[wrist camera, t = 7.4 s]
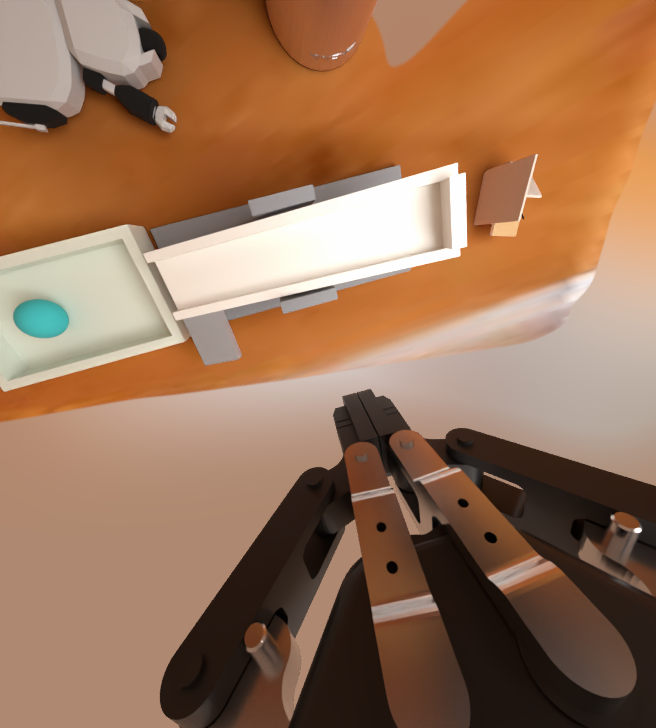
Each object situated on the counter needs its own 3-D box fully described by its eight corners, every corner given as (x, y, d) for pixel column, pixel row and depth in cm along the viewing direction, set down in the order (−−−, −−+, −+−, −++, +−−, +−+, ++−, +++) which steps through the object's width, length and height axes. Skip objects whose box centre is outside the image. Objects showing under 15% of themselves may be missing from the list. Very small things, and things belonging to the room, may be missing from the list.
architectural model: (508, 172, 32) (568, 154, 26) (492, 237, 35) (543, 235, 28) (482, 170, 32) (536, 151, 25) (468, 236, 35) (514, 234, 28)
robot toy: (157, -34, 22) (-74, -75, 19) (135, -95, 18) (-162, -160, 15) (189, 149, 27) (8, 139, 24) (177, 132, 23) (-42, 117, 20)
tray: (-51, 276, 28) (-94, 280, 24) (144, 226, 29) (126, 224, 25) (31, 377, 33) (4, 391, 30) (194, 332, 34) (185, 341, 30)
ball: (63, 291, 29) (25, 301, 29) (33, 298, 26) (-11, 309, 25) (85, 326, 31) (49, 336, 31) (60, 337, 27) (20, 348, 27)
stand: (154, 229, 29) (90, 222, 19) (396, 167, 30) (449, 130, 20) (199, 326, 33) (166, 359, 24) (407, 269, 35) (455, 278, 25)
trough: (170, 250, 27) (130, 255, 22) (441, 172, 22) (465, 158, 18) (217, 354, 32) (192, 377, 27) (448, 309, 27) (468, 327, 22)
